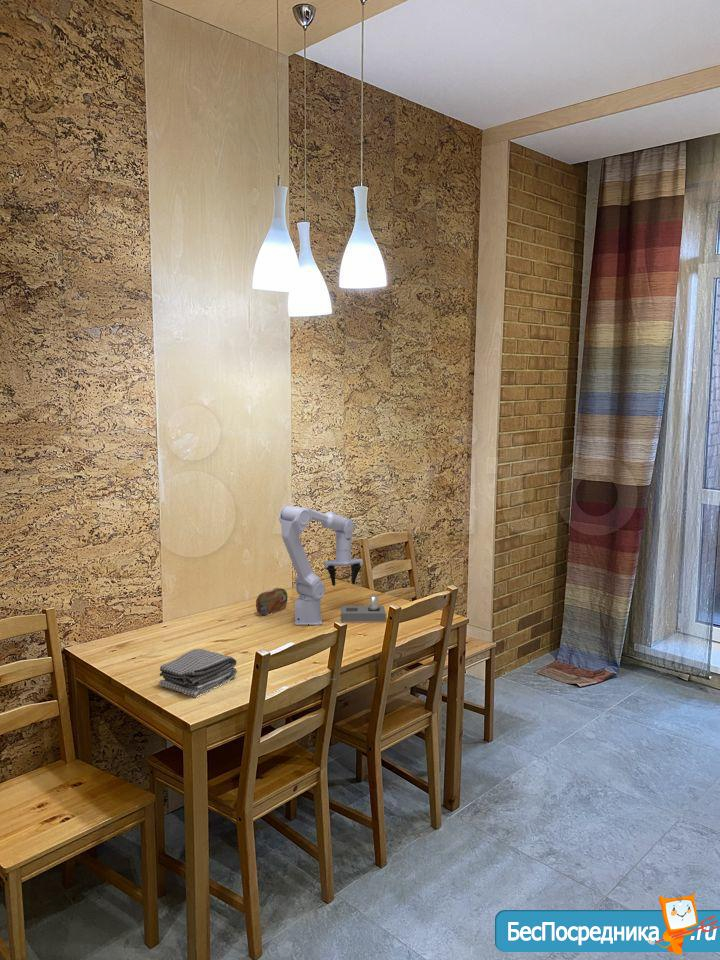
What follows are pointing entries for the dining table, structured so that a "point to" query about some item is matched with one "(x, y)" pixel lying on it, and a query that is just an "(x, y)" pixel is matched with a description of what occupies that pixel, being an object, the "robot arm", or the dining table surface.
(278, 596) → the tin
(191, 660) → the towel
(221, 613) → the dining table surface
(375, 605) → the pin
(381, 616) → the hole block
